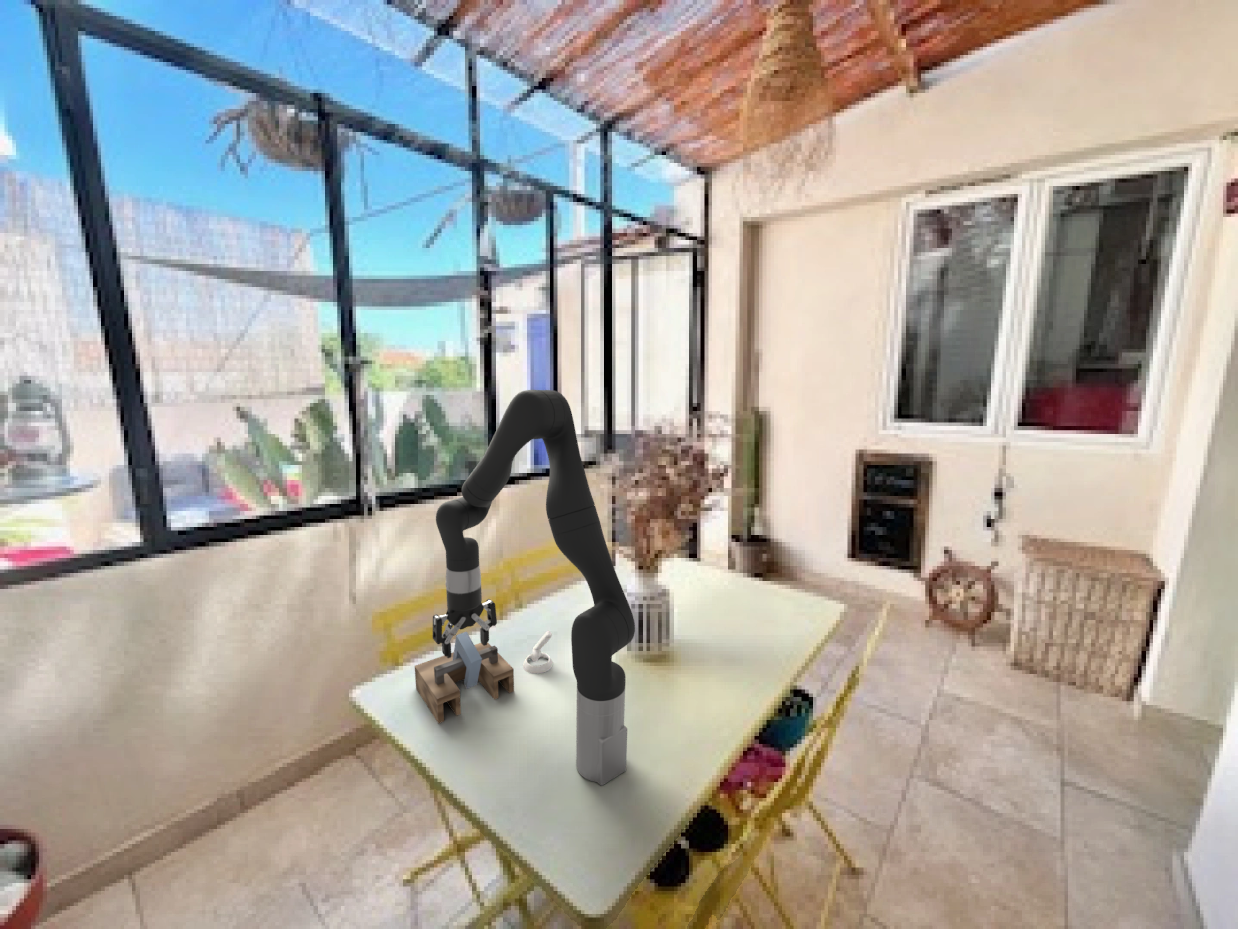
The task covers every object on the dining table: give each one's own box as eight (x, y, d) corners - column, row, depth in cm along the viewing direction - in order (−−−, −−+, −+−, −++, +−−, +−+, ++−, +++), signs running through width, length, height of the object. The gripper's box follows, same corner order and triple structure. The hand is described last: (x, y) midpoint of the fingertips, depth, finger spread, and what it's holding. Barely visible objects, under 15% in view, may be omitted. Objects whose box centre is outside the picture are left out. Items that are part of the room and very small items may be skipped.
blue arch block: (476, 684, 117) (481, 658, 113) (466, 688, 115) (471, 662, 111) (462, 657, 122) (466, 631, 118) (452, 661, 121) (456, 635, 116)
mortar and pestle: (569, 656, 126) (546, 645, 123) (542, 686, 129) (519, 676, 127) (569, 635, 132) (547, 623, 130) (543, 664, 136) (521, 653, 133)
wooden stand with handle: (513, 691, 120) (513, 655, 118) (438, 723, 109) (436, 684, 107) (486, 661, 131) (485, 628, 129) (416, 688, 120) (413, 652, 118)
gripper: (438, 599, 106) (441, 669, 109) (500, 582, 114) (502, 647, 118) (425, 586, 111) (429, 653, 115) (486, 571, 120) (488, 633, 123)
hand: (466, 650), depth 116 cm, fingers open, 8 cm apart
